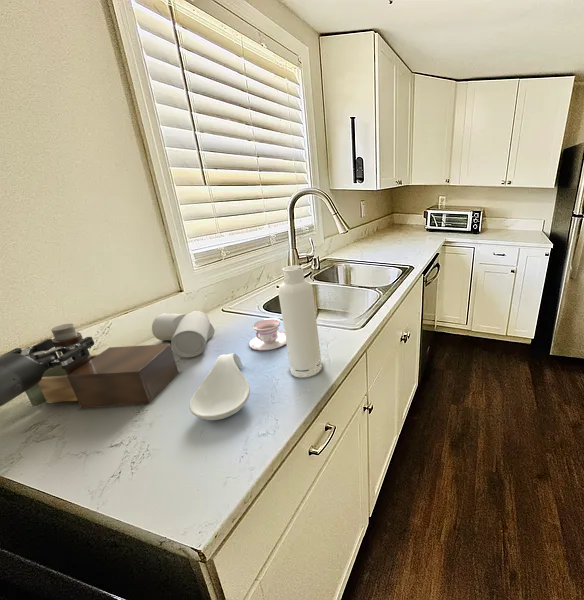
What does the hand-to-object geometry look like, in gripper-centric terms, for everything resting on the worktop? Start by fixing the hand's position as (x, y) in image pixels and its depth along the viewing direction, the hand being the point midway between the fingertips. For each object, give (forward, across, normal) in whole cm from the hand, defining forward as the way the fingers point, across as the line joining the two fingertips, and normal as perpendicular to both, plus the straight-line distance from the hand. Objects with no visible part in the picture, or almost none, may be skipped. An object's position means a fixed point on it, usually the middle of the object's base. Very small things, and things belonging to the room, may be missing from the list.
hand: (71, 341), depth 75 cm
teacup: (+20, -37, +14) cm, 44 cm away
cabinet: (-1, -10, +14) cm, 17 cm away
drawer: (-1, +3, +13) cm, 13 cm away
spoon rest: (-6, -34, +14) cm, 37 cm away
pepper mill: (-1, 0, +12) cm, 12 cm away
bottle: (+3, -51, +14) cm, 53 cm away
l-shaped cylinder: (+21, -12, +14) cm, 28 cm away
